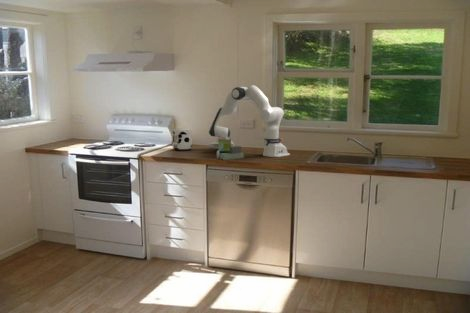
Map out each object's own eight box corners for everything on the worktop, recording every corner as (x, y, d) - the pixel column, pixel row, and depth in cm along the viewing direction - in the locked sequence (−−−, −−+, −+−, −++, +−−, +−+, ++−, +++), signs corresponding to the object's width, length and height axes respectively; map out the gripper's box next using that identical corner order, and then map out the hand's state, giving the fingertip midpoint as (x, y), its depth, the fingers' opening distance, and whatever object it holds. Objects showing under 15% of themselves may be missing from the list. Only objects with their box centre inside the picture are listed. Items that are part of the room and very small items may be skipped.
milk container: (193, 148, 407) (192, 128, 403) (191, 151, 390) (191, 130, 386) (173, 148, 406) (173, 128, 403) (171, 151, 389) (170, 130, 386)
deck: (238, 156, 367) (238, 145, 365) (243, 157, 359) (243, 146, 358) (216, 158, 357) (216, 147, 356) (221, 160, 350) (221, 148, 348)
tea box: (231, 157, 361) (231, 139, 358) (218, 157, 360) (218, 139, 358) (230, 154, 376) (230, 136, 373) (218, 154, 375) (217, 136, 372)
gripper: (209, 140, 386) (209, 143, 373) (233, 140, 388) (234, 142, 374) (209, 147, 387) (209, 150, 374) (233, 147, 389) (234, 150, 375)
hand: (222, 146), depth 374 cm, fingers closed, pressing on tea box
